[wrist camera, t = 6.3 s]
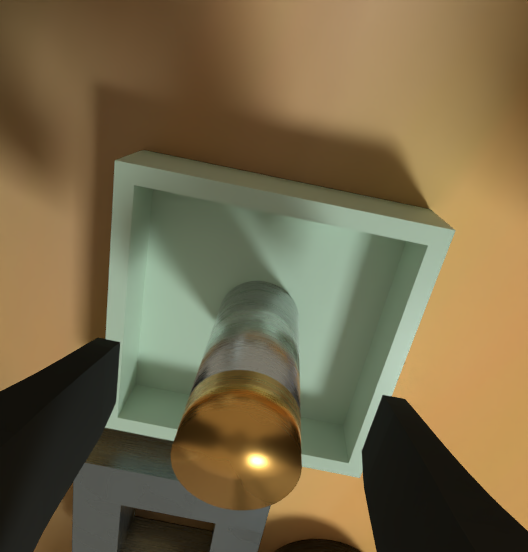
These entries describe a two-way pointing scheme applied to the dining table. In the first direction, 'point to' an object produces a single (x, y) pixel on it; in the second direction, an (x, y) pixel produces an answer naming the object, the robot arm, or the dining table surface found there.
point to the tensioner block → (157, 505)
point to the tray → (270, 268)
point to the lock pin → (244, 404)
